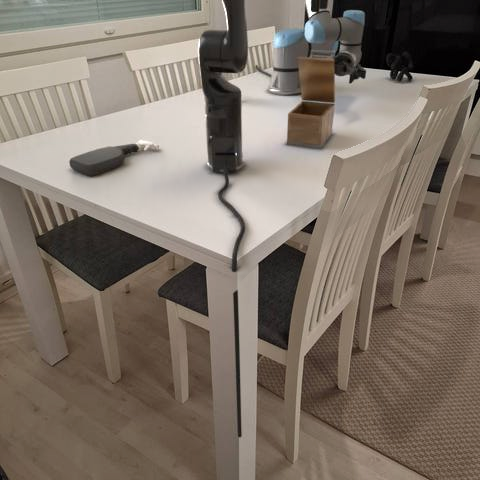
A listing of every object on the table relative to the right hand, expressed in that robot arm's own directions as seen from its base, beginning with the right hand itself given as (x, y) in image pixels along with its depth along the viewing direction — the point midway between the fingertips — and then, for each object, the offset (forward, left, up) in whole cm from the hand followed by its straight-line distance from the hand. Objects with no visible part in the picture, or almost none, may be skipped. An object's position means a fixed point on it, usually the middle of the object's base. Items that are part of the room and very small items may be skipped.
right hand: (329, 77), depth 142 cm
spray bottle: (+28, -64, -15) cm, 72 cm away
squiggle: (-58, +45, -15) cm, 75 cm away
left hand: (+15, -8, +20) cm, 27 cm away
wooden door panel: (+12, -6, +1) cm, 14 cm away
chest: (+15, -8, -15) cm, 23 cm away
